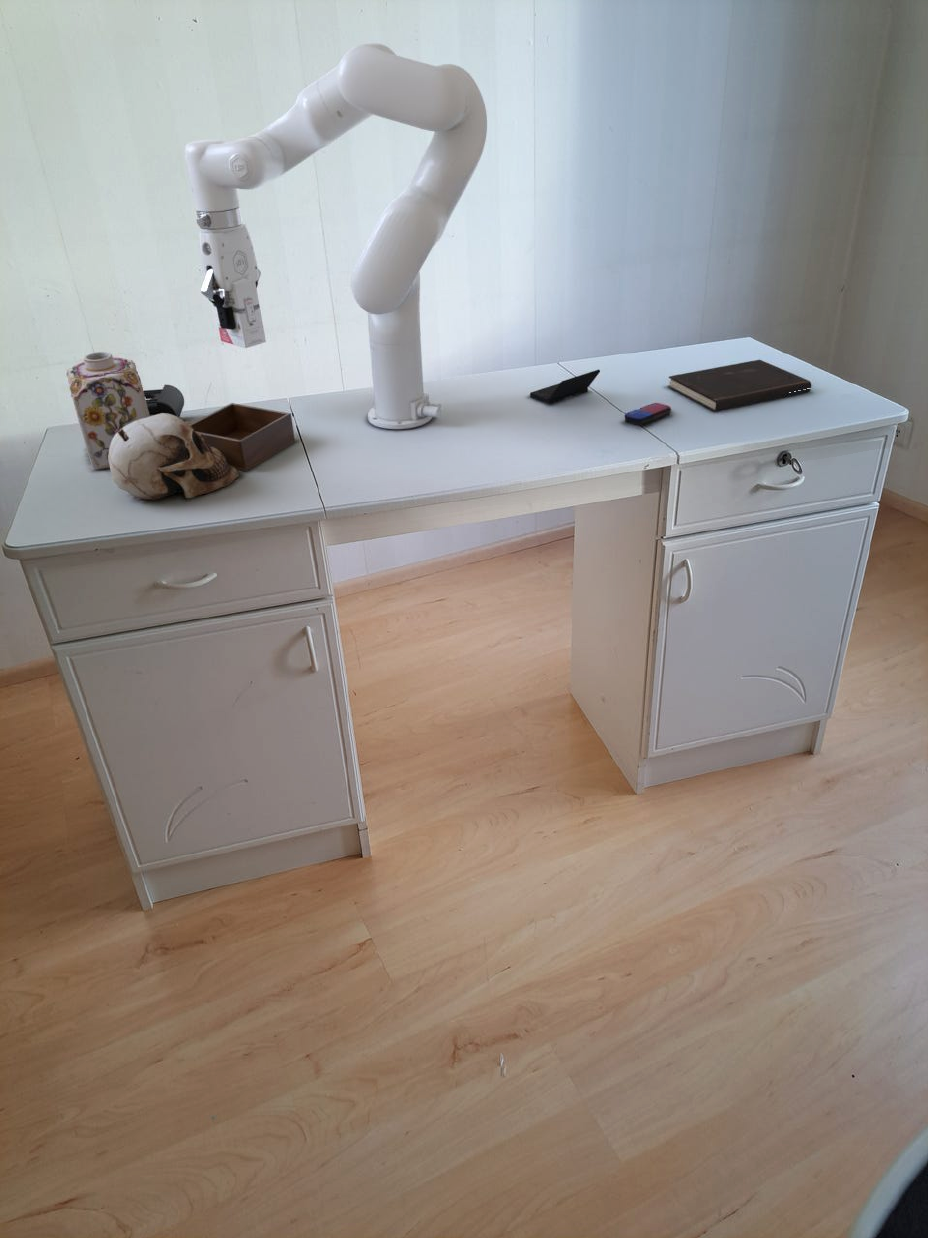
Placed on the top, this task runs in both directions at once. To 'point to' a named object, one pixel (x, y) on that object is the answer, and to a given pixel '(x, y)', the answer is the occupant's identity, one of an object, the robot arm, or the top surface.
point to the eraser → (647, 414)
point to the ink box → (244, 315)
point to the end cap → (164, 401)
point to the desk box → (246, 433)
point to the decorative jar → (105, 401)
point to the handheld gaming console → (565, 388)
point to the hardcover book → (738, 385)
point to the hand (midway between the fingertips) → (239, 322)
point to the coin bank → (166, 459)
